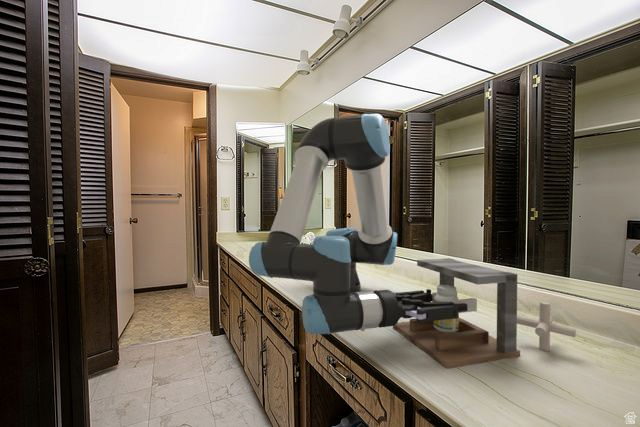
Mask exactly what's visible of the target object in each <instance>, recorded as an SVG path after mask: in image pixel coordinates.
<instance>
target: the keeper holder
mask: <svg viewBox="0 0 640 427" xmlns="http://www.w3.org/2000/svg"><path fill="white" fill-rule="evenodd" d="M416 265H417V267H420V268H423V269H427V270H430V271H434V272H436V273H439V285H450V286H454V287H455V278H456V279H459V280H462V281H465V282H469V283H472V284H475V285H488V284H489V285H490V284H497V285H496V288H497V289H496V338H495V337H493V336H492V335H489V331H487V330H486V329H484V328H481V327H479V326H477V325H476V324H473V323H472V322H469V321H468V320H465V319H463V318H461V317H459V328H458V331H456V332H453V333H447V332H442V331H439V330H437V329H436V328H435V327H434V325H433V322H434V321H427V322H424V323H417V318H409V321H402V322H399V321H398V322H397V324H396V325H395V326H392V328H393V329H395V330H396V331H397V332H399V333H400V334H402V335H403V336H404V337H405V338H407V339H408V340H409V341H411V342H412V343H413V344H415V346H417V347H418V348H419V349H421V350H422V351H423V352H425V353H426V354H428V356H430V357H431V358H433V359H434V360H435V361H436V362H438V363H440V364H441V365H442V366H444V368H446V369H451V368H457V367H461V366H467V365H475V364H480V363H485V362H486V363H487V362H492V361H497V360H503V359H509V358H515V357H519V356H521V350H520V349H517V344H518V343H517V340H518V338H517V336H518V335H517V334H518V333H517V332H518V330H517V329H518V327H517V326H518V324H517V316H518V273H513V272H510V271H503V270H499V269H493V268H491V267H490V268H489V267H486V266H481V265H477V264H474V263H470V262H469V263H468V262H465V261H460V260H456V259H455V258H454V259H453V258H450V257H449V258H431V259H430V258H429V259H417V260H416Z"/></svg>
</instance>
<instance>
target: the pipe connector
mask: <svg viewBox="0 0 640 427" xmlns="http://www.w3.org/2000/svg"><path fill="white" fill-rule="evenodd" d="M553 322H554V319H553V317H552V316H551V303H550V302H548V301H547V302H546V301H540V302H539V319H536V318H535V319H534V318H529V317H525V316H520V315H517V325H521V326H525V327H530V328H534V333H535V334H536V335H537V336H538V338H539V339H538V343H539V344H538V348H539V349H541V350H542V351H546V352H549V351H550V348H551V347H550V342H551V333H556V334H558V335H563V336H567V337H572V338H576V331H577V330H576V328H574V327H570V326H565V325H561V324H556V323H553Z"/></svg>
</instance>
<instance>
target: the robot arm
mask: <svg viewBox="0 0 640 427" xmlns="http://www.w3.org/2000/svg"><path fill="white" fill-rule="evenodd" d="M390 144H391V143H390V134H389V130H388V125H387V122H386V120H385V118H384V117H383V116H382V115H381V114H379V113H362V114H356V115H349V116H342V117H332V118H331V117H329V118H327V119H324V120H321V121H319V122H317V123H316V124H315V125H313V126H312V127H311V129H309V130H308V131H306V134H305V135H304V136H303V137H302V139H301V140H300V142H299V143H298V146H297V147H296V150H295V153H294V159H295V164H294V167H293V169H292V172H291V174H290V177H289V180H288V182H287V184H286V187H285V190H284V193H283V196H282V197H281V202H280V204H279V207H278V209H277V213H276V215H275V217H274V220H273V223H272V224H271V228H270V231H269V234H268V236H267V239H266V241H260V242H256V243H255V244H254V245H253V246H252V247H251V249H250V251H249V254H248V264H249V268H250V270H251V272H252V273H253V274H255V275H257V276H262V277H267V278H271V279H273V278H278V279H288V280H289V279H290V280H296V281H308V282H312V285H313V287H312V292H313V293H312V294H310V295H306V296H305V297H304V298H303V299H302V305H301V318H302V324H303V327H304V330H305V331H306V333H308V334H309V335H330V334H336V333H337V334H338V333H343V332H352V331H361V332H364V331H365V330H368V329H375V328H376V329H377V328H387V327H388V328H390V327H393V326H395V325H396V324H397V323H399V320H401V318H402V319H412V318H414V319H416V318H417V323H424V322H427V321H436V320H446V319H456V318H458V313H459V314H463V313H470V312H471V313H472V312H477V311H478V298H475V297H472V298H461V299H460V298H458V299H459V300H450V302H434V296H435V295H436V294H438V292H437V291H436V292H432V289H430V288H427V289H426V292H425V290H412V291H401V292H400V291H399V292H393V291H391V290H390V289H380V290H378V289H377V290H374V291H372V290H364V291H363V290H362V291H361V288H362V287H361V286H362V285H361V281H360V278H359V275H358V271H357V264H367V265H377V266H378V265H379V266H384V265H385V266H390V265H393V264H394V262H395V259H396V252H397V251H396V250H397V244H398V243H397V242H398V233H397V232H395V231H393V230H392V226H390V225H389V223H387V213H386V205H385V195H384V186H383V177H382V176H383V175H382V168H381V167H382V166H383V164H385V161H386V158H387V157H389V155H390V151H391V145H390ZM333 160H335V161H336V160H337V161H338V160H339V161H340V160H343V161H344V165H345V168H346V169H348V170H349V171H351V174H352V180H353V186H354V191H355V198H356V203H357V208H358V209H357V210H358V215H359V220H360V221H359V222H360V225H361V227H360V228H359V229H357V228H356V227H353V226H352V227H344V228H336V229H330V230H327V231H326V233H325V235H319V236H316V237H314V239H313V242H312V244H310V243H309V244H308V243H307V244H302V243H301V241H302V239H303V234H304V231H305V229H306V225H307V221H308V219H309V215H310V211H311V208H312V207H313V206H312V205H313V202H314V198H315V196H316V192H317V189H318V185H319V182H320V179H321V175H322V172H323V171H324V170H325V169H326V168H327V167H328V165H329V162H330V161H333ZM357 230H358V231H357ZM455 296H456V297H458V291H457V290H456V294H455Z"/></svg>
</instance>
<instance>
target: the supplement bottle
mask: <svg viewBox="0 0 640 427" xmlns="http://www.w3.org/2000/svg"><path fill="white" fill-rule="evenodd" d="M436 287H437V289H436V292H438V294H436V295H435V296H434V302H450V300H459V299H460V298H459V297H458V296H457V297H456V296H455V294H456V291H457V287H456V286H455V285H454V286H450V285H440V284H438V285H437V286H436ZM459 318H460V313H458V318H456V319H446V320H436V321H434V322H433V325H434V327H435V328H436V329H437V330H439V331H442V332H447V333H453V332H456V331H458V328H459Z"/></svg>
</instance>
